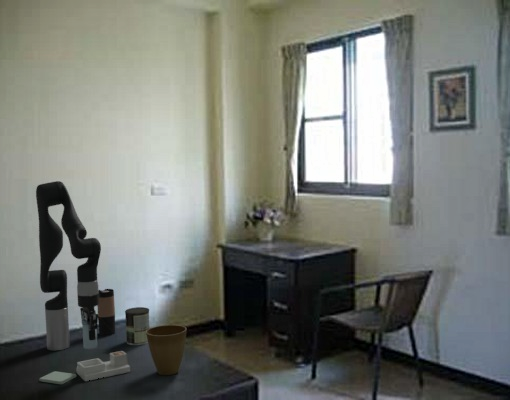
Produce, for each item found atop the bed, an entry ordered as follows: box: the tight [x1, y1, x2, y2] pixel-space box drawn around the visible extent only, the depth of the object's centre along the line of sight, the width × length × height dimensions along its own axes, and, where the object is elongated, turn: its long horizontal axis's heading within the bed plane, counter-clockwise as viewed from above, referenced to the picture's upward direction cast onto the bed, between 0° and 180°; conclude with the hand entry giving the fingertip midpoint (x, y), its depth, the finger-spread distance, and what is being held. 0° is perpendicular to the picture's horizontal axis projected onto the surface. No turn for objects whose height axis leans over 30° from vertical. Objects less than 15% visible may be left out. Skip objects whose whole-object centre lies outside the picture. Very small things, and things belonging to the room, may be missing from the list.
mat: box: [38, 371, 77, 385], centre depth 226 cm, size 10×8×1 cm
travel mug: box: [96, 288, 116, 337], centre depth 283 cm, size 8×8×20 cm
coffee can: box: [124, 306, 150, 346], centre depth 269 cm, size 10×10×14 cm
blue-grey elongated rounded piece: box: [81, 319, 98, 350], centre depth 228 cm, size 5×5×10 cm
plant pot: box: [146, 324, 187, 376], centre depth 230 cm, size 15×15×16 cm
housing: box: [75, 350, 131, 382], centre depth 231 cm, size 11×17×6 cm, turn 122°
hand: (90, 337), depth 229 cm, fingers closed on blue-grey elongated rounded piece, 5 cm apart
